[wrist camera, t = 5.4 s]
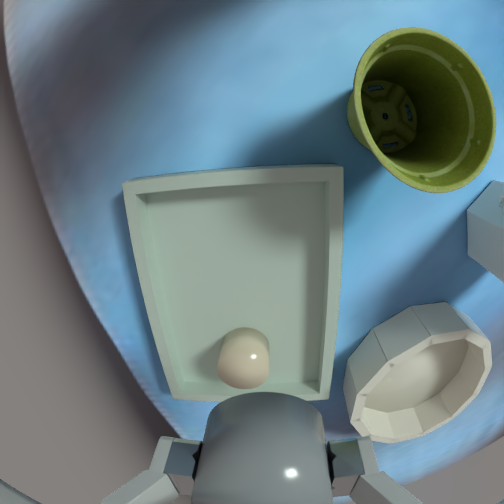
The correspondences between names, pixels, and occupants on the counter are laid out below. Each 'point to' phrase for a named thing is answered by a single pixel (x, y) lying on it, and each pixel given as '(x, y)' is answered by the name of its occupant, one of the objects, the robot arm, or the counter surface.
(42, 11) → the counter surface
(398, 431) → the bowl
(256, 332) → the stone sand
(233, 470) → the grey ball
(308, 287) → the parts tray
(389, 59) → the plant pot
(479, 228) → the jar
